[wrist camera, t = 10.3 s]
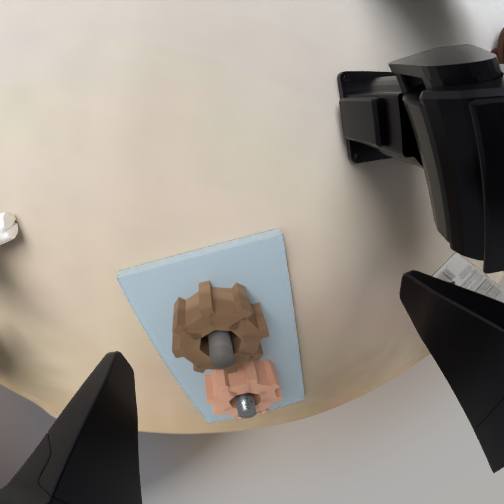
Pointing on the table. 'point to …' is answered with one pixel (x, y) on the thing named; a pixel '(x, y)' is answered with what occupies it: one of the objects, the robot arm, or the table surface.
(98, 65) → the table surface
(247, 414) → the metal gear peg
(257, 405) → the salmon gear
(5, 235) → the seated beast figurine
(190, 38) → the table surface
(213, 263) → the gear board
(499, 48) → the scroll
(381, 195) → the table surface
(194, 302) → the walnut gear
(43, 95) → the table surface
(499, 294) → the coffee box
